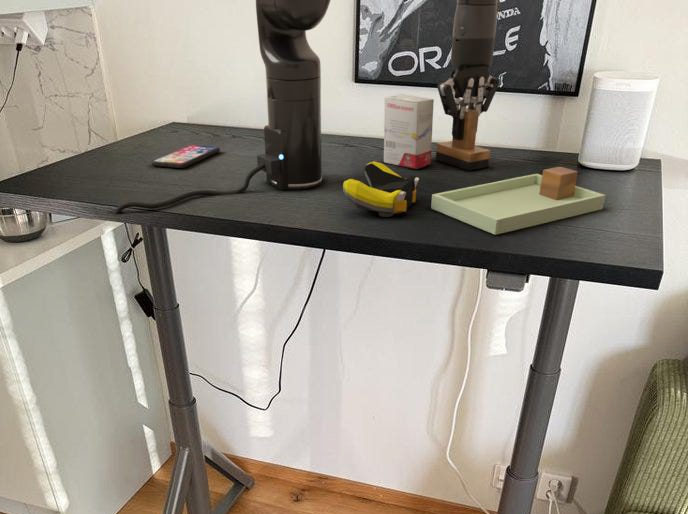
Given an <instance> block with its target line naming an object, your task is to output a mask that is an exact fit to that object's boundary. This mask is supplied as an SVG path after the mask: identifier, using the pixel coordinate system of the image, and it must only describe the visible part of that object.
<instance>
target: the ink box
mask: <svg viewBox="0 0 688 514" xmlns="http://www.w3.org/2000/svg"><path fill="white" fill-rule="evenodd" d="M434 103H435V99H434V98H428V97H423V96H418V95H411V94H406V93H405V94H404V93H398V94H395V95H389V96H386V97H384V116H383V117H384V121H383V122H384V123H383V127H384V128H383V129H384V130H383V163H384V164H389V165H394V166H399V167H404V168H409V169H413V170H418V169H421V168H424V167H426V166H428V165H431V164H432V143H433V141H432V140H433V122H434Z"/></svg>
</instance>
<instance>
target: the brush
mask: <svg viewBox="0 0 688 514" xmlns="http://www.w3.org/2000/svg"><path fill="white" fill-rule="evenodd" d="M459 109H460V107H459ZM463 119H465V123H464V133H463V139H462V140H456V139H454V138H453V137H452V138H451V139H452V140H449V141H444V142H438V143H436V151H435V160H436V161H439V162H442V163H446V164H448V165H451V166H454V167H457V168H460V169H463V170H466V171H468V172H469V171H473V170H480V169H485V168H489V164H490V163H489V162H490V156H491V155H490V154H491V150H490V149H488V148H483V147H481V146H477V145H476V139H477V132H476V130H477V131H478V125H477V121H478V122H479V117H478V111H476V110H472V109H468V107H466V112H465V117H464V118H463Z"/></svg>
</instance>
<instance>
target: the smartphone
mask: <svg viewBox="0 0 688 514" xmlns="http://www.w3.org/2000/svg"><path fill="white" fill-rule="evenodd" d="M220 151H221V149H220V147H219V146H211V145H210V146H209V145H197V144H189V145H185V146H184V147H181V148H178V149H177V150H174V151H172V152H169V153H167V154H165V155H162V156H159V157H158V158H155V159H153V160H151V165H152V166H153V167H165V168H175V169H185V168H187V167H188V166H192V165H193V164H195V163H197V162H200V161H202V160H204V159H207V158H208V157H211V156H213V155H215V154H217V153H219V152H220Z"/></svg>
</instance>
